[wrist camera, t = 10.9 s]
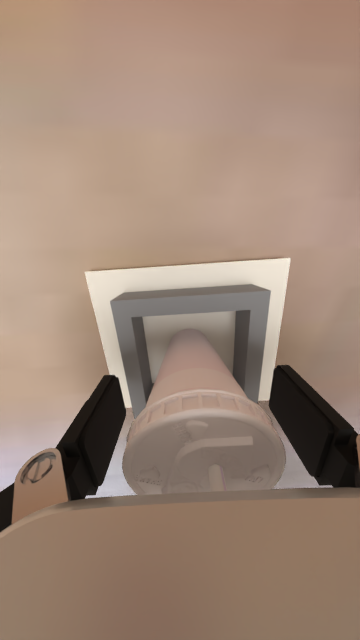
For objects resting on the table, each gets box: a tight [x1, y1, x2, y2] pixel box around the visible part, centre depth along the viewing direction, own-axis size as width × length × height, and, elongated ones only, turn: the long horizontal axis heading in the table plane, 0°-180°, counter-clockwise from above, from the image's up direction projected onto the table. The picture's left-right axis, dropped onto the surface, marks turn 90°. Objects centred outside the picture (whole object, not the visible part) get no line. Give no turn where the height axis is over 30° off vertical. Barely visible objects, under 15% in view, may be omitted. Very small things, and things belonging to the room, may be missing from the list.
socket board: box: [85, 258, 291, 419], centre depth 15 cm, size 16×14×4 cm
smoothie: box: [122, 329, 286, 495], centre depth 9 cm, size 6×6×14 cm
